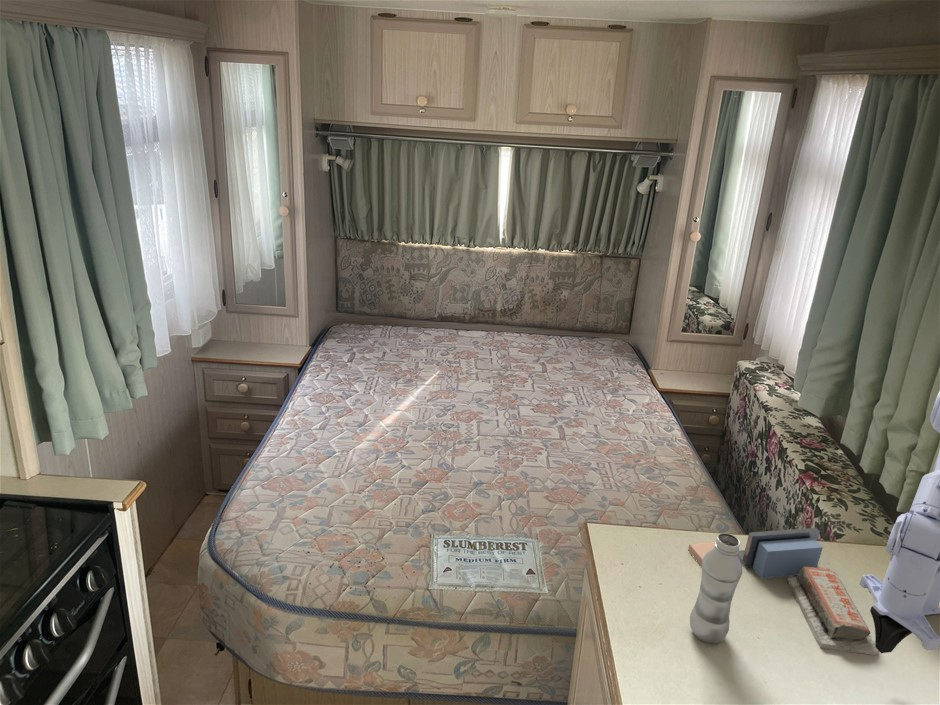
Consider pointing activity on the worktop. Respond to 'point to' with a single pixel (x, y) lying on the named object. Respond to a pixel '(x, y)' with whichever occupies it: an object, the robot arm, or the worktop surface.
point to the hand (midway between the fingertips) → (883, 649)
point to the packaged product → (831, 611)
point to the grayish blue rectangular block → (786, 557)
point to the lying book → (700, 550)
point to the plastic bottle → (717, 589)
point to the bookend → (755, 537)
